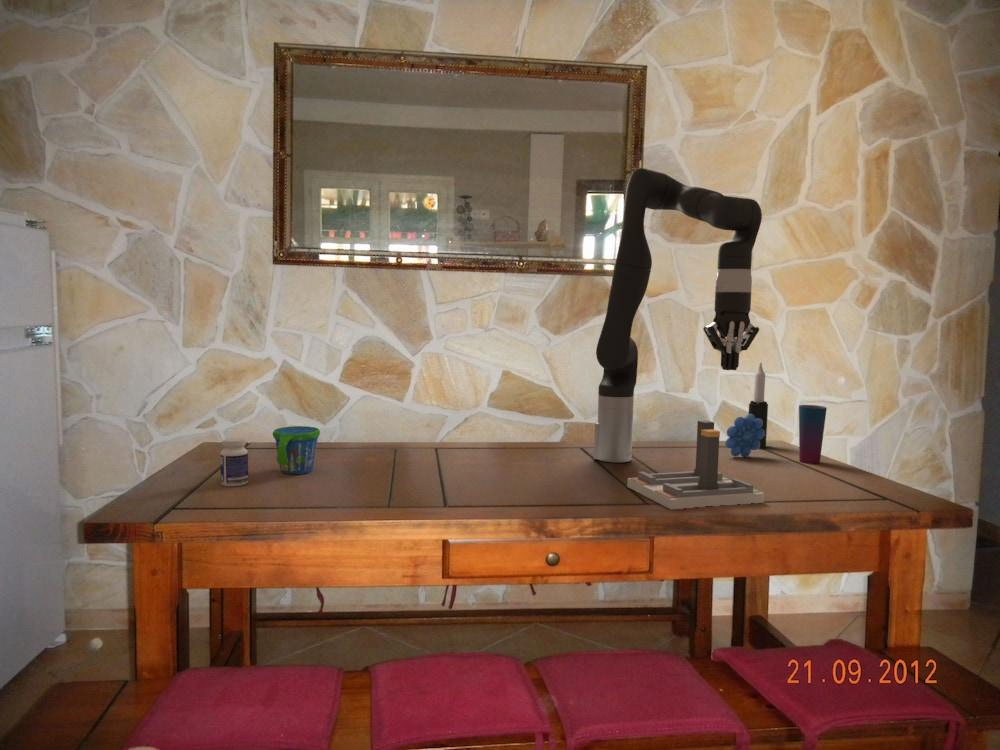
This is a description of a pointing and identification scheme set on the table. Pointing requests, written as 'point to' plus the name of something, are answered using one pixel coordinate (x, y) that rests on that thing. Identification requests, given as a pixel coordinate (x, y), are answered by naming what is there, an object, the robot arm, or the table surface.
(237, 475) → the pill bottle
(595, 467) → the table surface
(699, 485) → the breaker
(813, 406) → the cup
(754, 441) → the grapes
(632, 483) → the panel
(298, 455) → the snack cup
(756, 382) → the candle
